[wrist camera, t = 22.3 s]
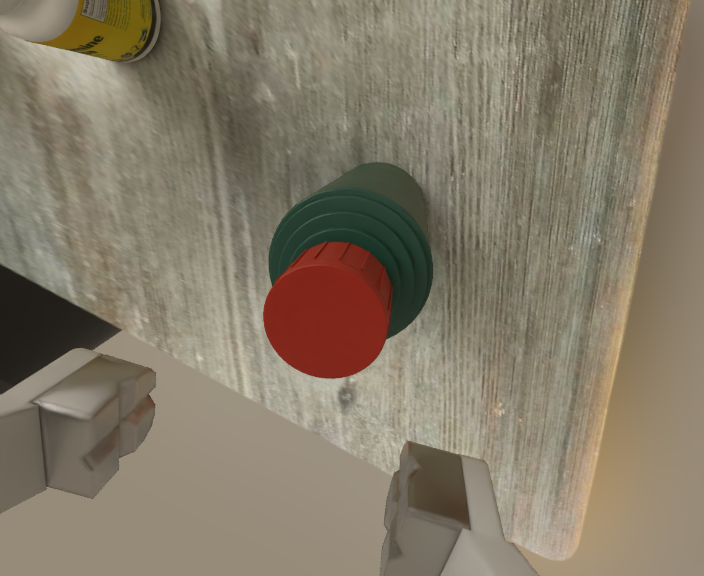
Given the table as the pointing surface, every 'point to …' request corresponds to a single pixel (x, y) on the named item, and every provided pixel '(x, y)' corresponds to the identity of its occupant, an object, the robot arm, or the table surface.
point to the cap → (330, 310)
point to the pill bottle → (86, 25)
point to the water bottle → (366, 231)
